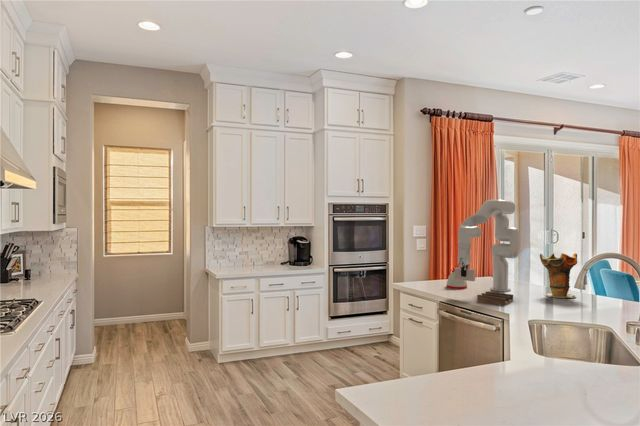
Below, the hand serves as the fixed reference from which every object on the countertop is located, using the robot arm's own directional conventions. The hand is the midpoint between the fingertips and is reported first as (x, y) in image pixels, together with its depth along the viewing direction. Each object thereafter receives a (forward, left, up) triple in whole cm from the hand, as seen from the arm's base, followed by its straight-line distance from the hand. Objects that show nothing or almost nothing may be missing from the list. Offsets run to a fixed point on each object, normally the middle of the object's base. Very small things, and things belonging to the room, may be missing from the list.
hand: (464, 275), depth 280 cm
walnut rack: (+1, +19, -13) cm, 23 cm away
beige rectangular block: (0, 0, -2) cm, 2 cm away
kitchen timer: (-32, -18, -14) cm, 39 cm away
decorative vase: (-43, +44, -14) cm, 63 cm away
